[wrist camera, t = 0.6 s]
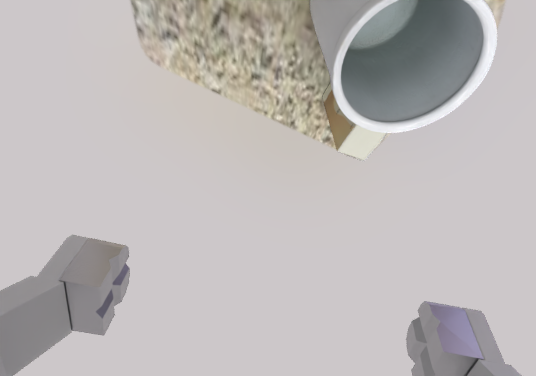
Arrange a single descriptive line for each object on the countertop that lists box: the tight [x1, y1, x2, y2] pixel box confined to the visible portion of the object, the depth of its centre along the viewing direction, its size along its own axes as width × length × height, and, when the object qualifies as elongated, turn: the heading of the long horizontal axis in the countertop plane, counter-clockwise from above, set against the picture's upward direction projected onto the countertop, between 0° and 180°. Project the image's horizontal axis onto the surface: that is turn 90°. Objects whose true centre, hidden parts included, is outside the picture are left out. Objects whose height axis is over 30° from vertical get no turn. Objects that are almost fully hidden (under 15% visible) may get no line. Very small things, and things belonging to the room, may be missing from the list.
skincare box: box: [322, 83, 387, 161], centre depth 54 cm, size 6×4×12 cm
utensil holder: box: [310, 0, 497, 133], centre depth 44 cm, size 15×15×18 cm
